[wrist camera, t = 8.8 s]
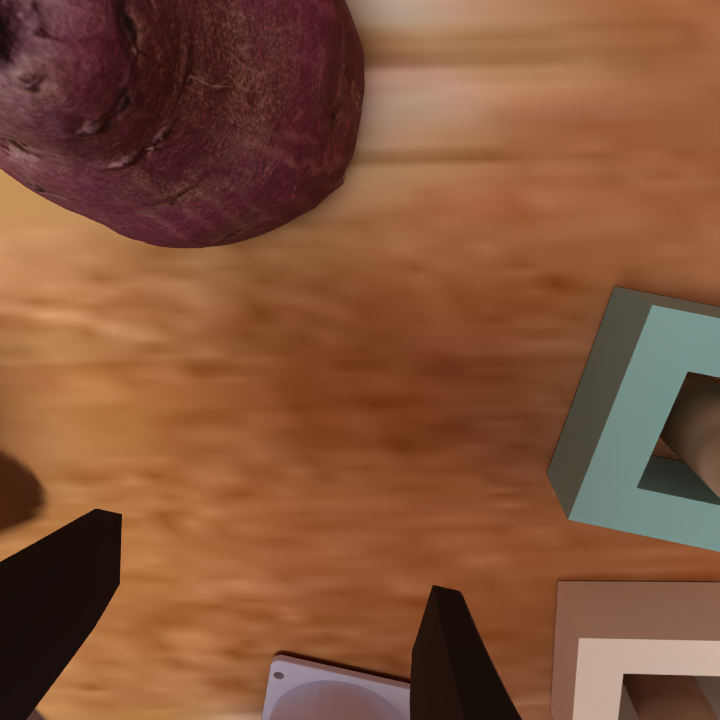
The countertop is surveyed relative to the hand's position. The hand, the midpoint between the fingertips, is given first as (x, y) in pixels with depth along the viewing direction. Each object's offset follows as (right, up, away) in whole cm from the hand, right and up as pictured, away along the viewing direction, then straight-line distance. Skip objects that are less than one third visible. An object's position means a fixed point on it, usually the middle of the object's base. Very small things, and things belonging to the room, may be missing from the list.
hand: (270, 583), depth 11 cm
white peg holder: (+15, -8, +12) cm, 21 cm away
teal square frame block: (+14, +3, +8) cm, 17 cm away
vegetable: (-3, +14, +6) cm, 16 cm away
